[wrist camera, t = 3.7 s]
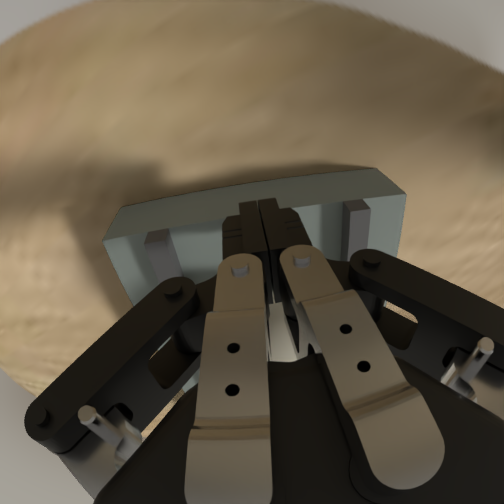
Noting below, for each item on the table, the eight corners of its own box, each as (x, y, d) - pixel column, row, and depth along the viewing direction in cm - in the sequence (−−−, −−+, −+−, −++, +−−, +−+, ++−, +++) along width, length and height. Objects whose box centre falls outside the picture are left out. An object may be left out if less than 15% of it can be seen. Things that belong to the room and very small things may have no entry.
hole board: (376, 168, 16) (416, 203, 12) (339, 402, 34) (347, 433, 30) (121, 207, 16) (95, 252, 12) (222, 421, 34) (224, 453, 30)
